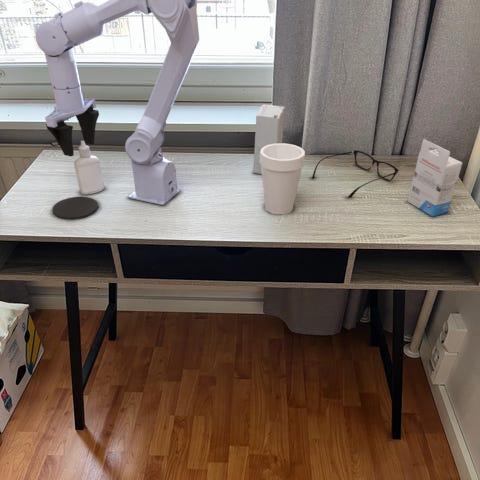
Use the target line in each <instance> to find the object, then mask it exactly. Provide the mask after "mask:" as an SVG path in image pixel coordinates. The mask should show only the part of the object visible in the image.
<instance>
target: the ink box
mask: <svg viewBox="0 0 480 480" xmlns="http://www.w3.org/2000/svg"><path fill="white" fill-rule="evenodd" d="M417 156H418V157H417V160H416V165H415V169H414V173H413V178H412V182H411V185H410V191H409V194H408V199H407V202H408V203H410V204H411V205H412V206H414V207H415V208H418V209H419V210H420V211H422V212H424V213H425V214H427V215H428V216H430V217H436V216H441V215H443V214H446V213H449V211H450V208H451V203H452V200H453V198H454V197H453V196H454V193H455V190H456V186H457V182H458V181H459V180H458V179H459V177H460V173H461V169H462V166H463V161H460V160H458V159H456V158H454V157H453V156H451V151H450V150H448V149H445V148H444V147H442V146H440V145H438V144H435V143H433V142H431V141H429V140H427V139H426V138H424V139H423V140H422V142H421V146H420V150H419V153H418V155H417Z"/></svg>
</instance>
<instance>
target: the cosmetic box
mask: <svg viewBox="0 0 480 480" xmlns="http://www.w3.org/2000/svg"><path fill="white" fill-rule="evenodd" d="M285 110H286V107H285V106H282V105H271V104H263V103H262V105H261V107H260V108H259V110H258V112H257V113H256V115H255V134H254V135H255V136H254V154H253V173H254V174H260V175H262V171H261V164H260V151H261V149H262V148H263V147H265V146H267V145H271V144H279V143H283V135H284V124H285Z"/></svg>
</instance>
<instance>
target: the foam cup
mask: <svg viewBox="0 0 480 480" xmlns="http://www.w3.org/2000/svg"><path fill="white" fill-rule="evenodd" d="M305 154H306V151H305V150H304V149H303V148H302V147H301V146H298V145H296V144H291V143H287V142H286V143H285V142H282V143H279V144H271V145H267V146H265V147H263V148H262V149H261V151H260V164H261V171H262V174H261V180H262V189H263V190H262V192H263V198H264V199H263V200H264V208H265V210H266V211H267V212H269V213H270V214H273V215H274V214H275V215H286V214H289V213H291V212H292V211H293V209H294V205H295V200H296V196H297V191H298V187H299V182H300V178H301V174H302V169H303V167H304V164H305V158H306V157H305Z"/></svg>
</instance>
